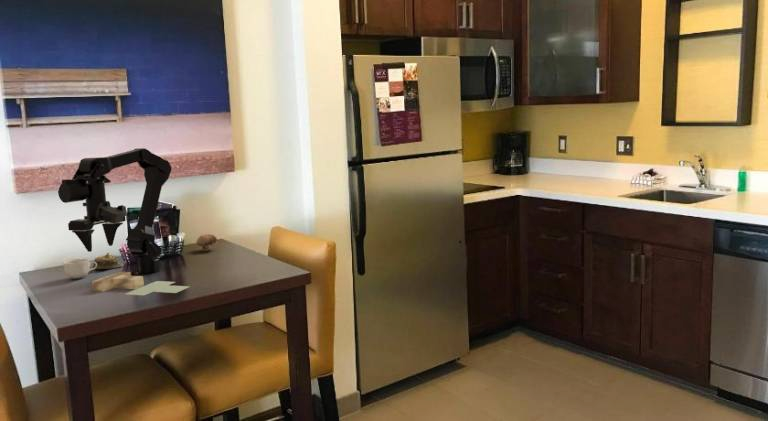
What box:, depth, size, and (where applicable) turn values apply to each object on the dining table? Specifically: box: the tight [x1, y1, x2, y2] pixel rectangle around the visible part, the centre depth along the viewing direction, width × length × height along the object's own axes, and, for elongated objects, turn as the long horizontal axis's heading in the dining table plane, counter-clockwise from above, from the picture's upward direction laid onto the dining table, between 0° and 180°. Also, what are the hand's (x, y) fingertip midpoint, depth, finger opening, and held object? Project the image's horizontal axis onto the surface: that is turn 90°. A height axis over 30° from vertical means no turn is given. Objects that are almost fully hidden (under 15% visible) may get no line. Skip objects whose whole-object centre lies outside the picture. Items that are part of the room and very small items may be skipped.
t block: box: [91, 271, 145, 293], centre depth 190 cm, size 12×12×3 cm
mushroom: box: [196, 233, 218, 252], centre depth 240 cm, size 8×8×6 cm
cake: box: [92, 252, 124, 270], centre depth 218 cm, size 10×10×5 cm
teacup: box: [62, 258, 97, 279], centre depth 205 cm, size 10×8×5 cm
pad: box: [124, 280, 191, 296], centre depth 186 cm, size 15×15×1 cm
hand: (100, 248), depth 192 cm, fingers open, 9 cm apart
